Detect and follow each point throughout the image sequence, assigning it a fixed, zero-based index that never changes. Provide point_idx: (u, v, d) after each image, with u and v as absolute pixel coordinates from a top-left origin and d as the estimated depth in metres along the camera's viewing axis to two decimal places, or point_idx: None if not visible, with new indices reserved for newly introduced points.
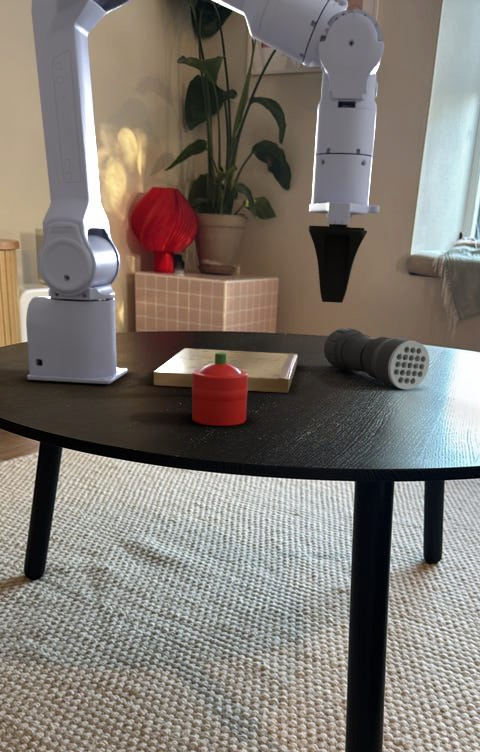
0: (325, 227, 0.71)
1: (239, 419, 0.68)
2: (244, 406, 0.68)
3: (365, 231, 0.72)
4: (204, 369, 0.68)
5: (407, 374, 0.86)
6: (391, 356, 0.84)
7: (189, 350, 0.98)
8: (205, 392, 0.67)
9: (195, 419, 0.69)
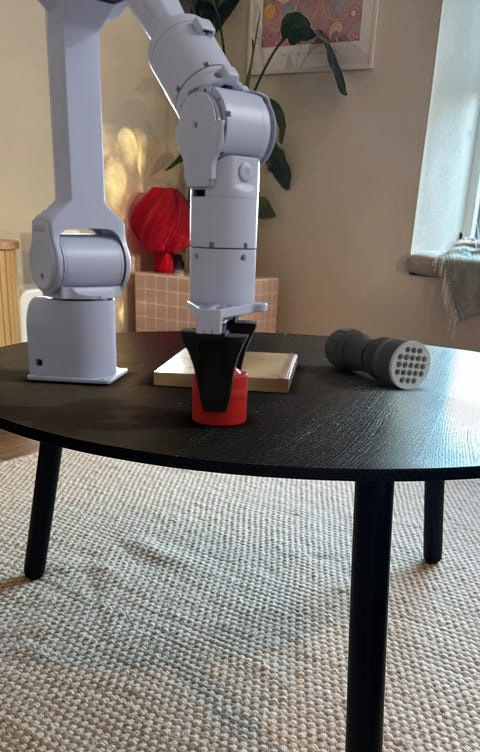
0: (198, 333, 0.62)
1: (239, 419, 0.68)
2: (244, 406, 0.69)
3: (244, 337, 0.62)
4: None
5: (408, 374, 0.86)
6: (392, 356, 0.84)
7: None
8: None
9: (195, 419, 0.69)
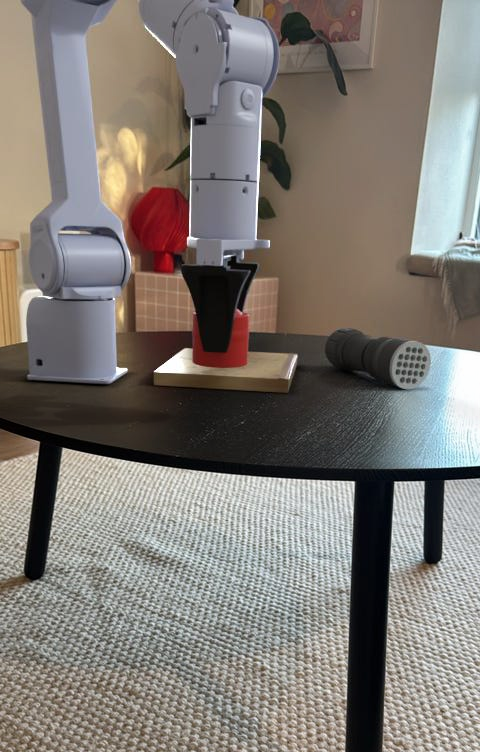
0: (198, 267, 0.61)
1: (240, 361, 0.67)
2: (245, 348, 0.67)
3: (246, 272, 0.61)
4: None
5: (408, 374, 0.86)
6: (392, 356, 0.84)
7: (189, 350, 0.98)
8: None
9: (195, 362, 0.67)
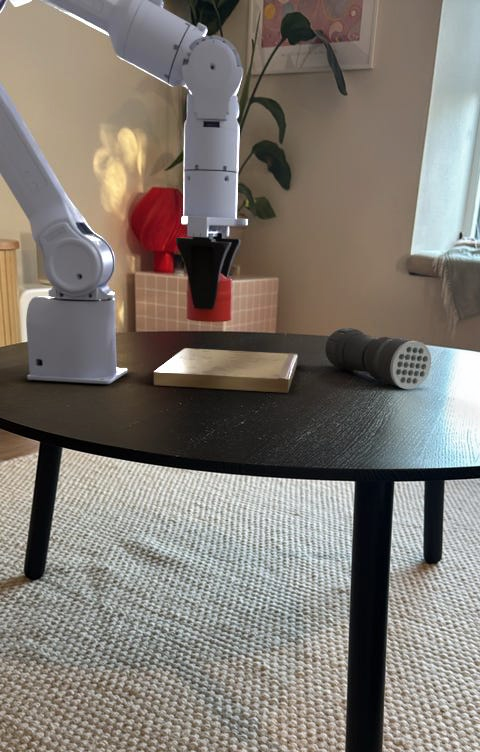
0: (189, 239, 0.77)
1: (225, 317, 0.83)
2: (229, 306, 0.83)
3: (227, 243, 0.77)
4: None
5: (409, 374, 0.86)
6: (393, 356, 0.84)
7: (189, 350, 0.98)
8: None
9: (188, 317, 0.83)
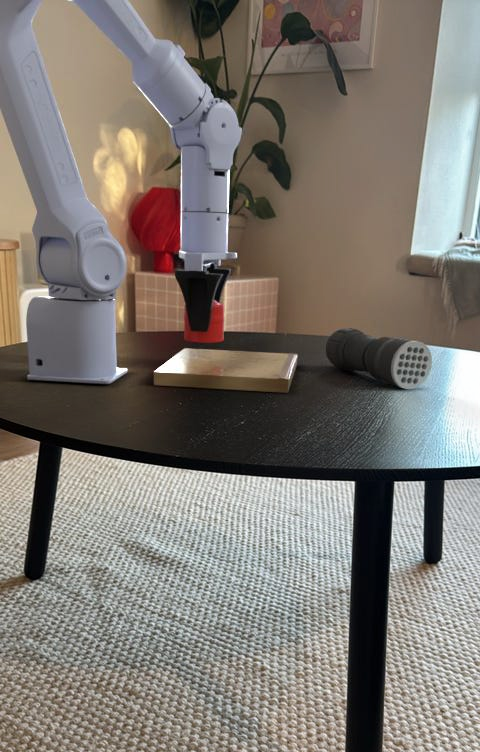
0: (186, 272, 0.88)
1: (218, 338, 0.94)
2: (222, 329, 0.94)
3: (219, 275, 0.88)
4: None
5: (410, 374, 0.86)
6: (394, 356, 0.84)
7: (189, 350, 0.98)
8: None
9: (186, 338, 0.95)
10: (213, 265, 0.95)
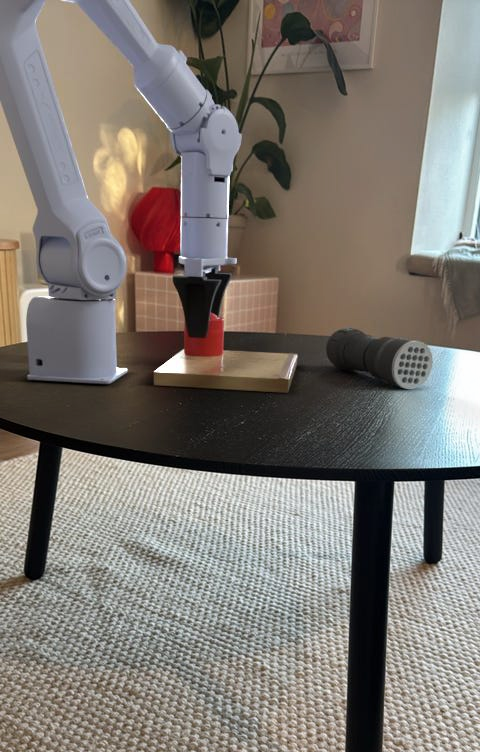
0: (184, 278, 0.87)
1: (218, 352, 0.95)
2: (221, 342, 0.95)
3: (217, 281, 0.88)
4: None
5: (410, 374, 0.86)
6: (394, 356, 0.85)
7: None
8: None
9: (186, 352, 0.95)
10: (214, 270, 0.96)
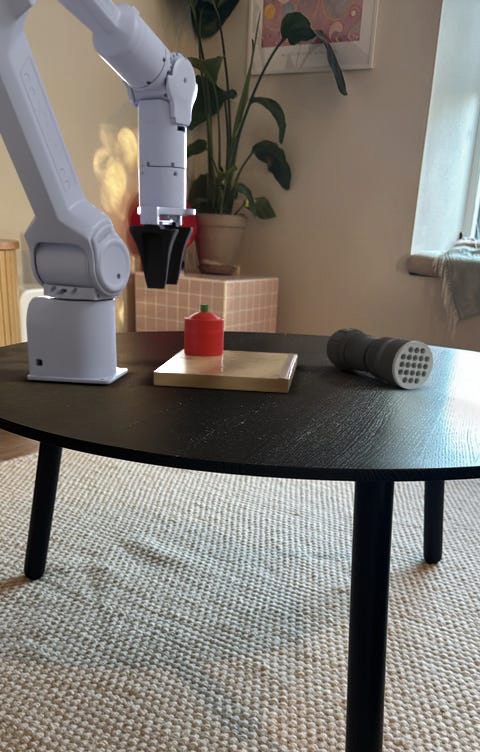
0: (141, 226, 0.87)
1: (218, 352, 0.95)
2: (221, 342, 0.95)
3: (174, 230, 0.88)
4: (192, 315, 0.94)
5: (411, 374, 0.86)
6: (395, 356, 0.85)
7: None
8: (193, 331, 0.93)
9: (186, 352, 0.95)
10: (174, 223, 0.96)
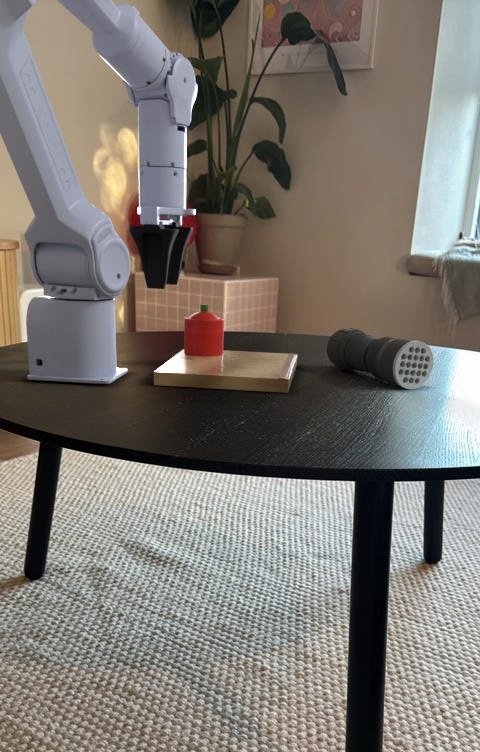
0: (141, 226, 0.87)
1: (218, 352, 0.95)
2: (221, 342, 0.95)
3: (174, 230, 0.88)
4: (192, 315, 0.94)
5: (411, 374, 0.86)
6: (395, 356, 0.85)
7: None
8: (193, 331, 0.93)
9: (186, 352, 0.95)
10: (174, 223, 0.96)
